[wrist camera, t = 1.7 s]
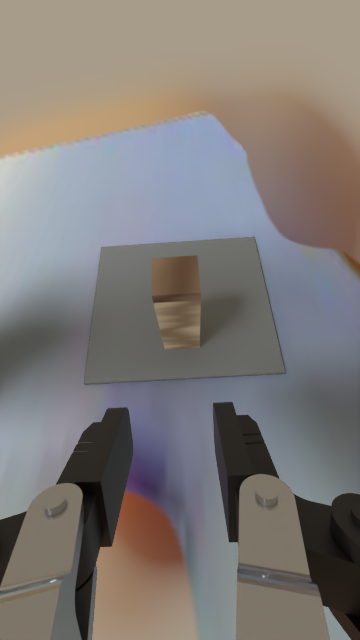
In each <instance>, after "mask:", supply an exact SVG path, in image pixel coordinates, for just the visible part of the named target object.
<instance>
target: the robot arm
mask: <svg viewBox="0 0 360 640" xmlns="http://www.w3.org/2000/svg"><path fill="white" fill-rule="evenodd" d="M213 421H214V443H215V453H216V460H217V467H218V473H219V480H220V486H221V493H222V499H223V506H224V512H225V519H226V525H227V532H228V538H229V542H238V570H237V613H236V640H330V637H329V633H328V628H327V623H326V619H325V614H324V609H323V606H326V607H329V609H330V611H331V612H332V614H333V615H334V617H335V618H336V619H337V621H338V622H339V624H340V625H341V626H342V628H343V629H344V630H345V632H346V633H347V634H348V636H349V637H350V638H351V640H360V495H359V494H353V493H347V494H342V495H339V496H338V497H336V498H335V499H334V500H333V502H332V506H328V505H324V504H320V503H316V502H311V501H308V500H305V499H302V498H300V497H298V496H296V495H295V494H293V492H292V490H291V489H290V487H289V486H288V485H287V484H286V483H284V482H283V481H282V480H280V479H279V476H278V474H277V472H276V469H275V467H274V464H273V462H272V459H271V457H270V454H269V452H268V449H267V447H266V444H265V443H264V440H263V437H262V435H261V432H260V430H259V427H258V425H257V423H256V422H255V421H254V420H253V419H252V418H251V417H250V416H248V415H236V412H235V409H234V406H233V403H232V402H224V403H213ZM132 455H133V441H132V433H131V425H130V417H129V411H128V408H127V407H125V408H108V409H107V410H106V413H105V415H104V417H103V419H102V421H101V422H96V423H93V424H91V425H90V426H89V427H88V428H87V429H86V430H85V431H84V432H83V433H82V435H81V437H80V439H79V441H78V444H77V445H76V447H75V449H74V452H73V453H72V455H71V457H70V459H69V460H68V462H67V464H66V466H65V468H64V470H63V472H62V474H61V476H60V478H59V480H58V482H57V484H56V485H54V486H52V487H50V488H48V489H46V490H44V491H43V492H42V493H40V494H39V495H38V496H37V497H36V498H35V499H34V500H33V501H32V503H31V504H30V506H29V508H28V510H27V511H26V512H23V513H21V514H18V515H14V516H11V517H8V518H5V519H2V520H0V640H92V633H93V620H94V607H95V594H96V580H97V567H96V561H97V557H98V553H99V550H100V547H111V546H112V543H113V539H114V535H115V530H116V526H117V522H118V517H119V513H120V509H121V504H122V500H123V496H124V492H125V487H126V483H127V479H128V474H129V470H130V466H131V461H132Z"/></svg>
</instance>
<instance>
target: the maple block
mask: <svg viewBox="0 0 360 640" xmlns="http://www.w3.org/2000/svg"><path fill="white" fill-rule="evenodd" d="M152 299H153V303H154V308H155V312H156V316H157V320H158V324H159V328H160V332H161V336H162V340H163V345H164V349H165V350H169V349H187V348H200V312H201V289H200V278H199V267H198V256H197V255H194V256H179V257H163V258H152Z"/></svg>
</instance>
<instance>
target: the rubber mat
mask: <svg viewBox="0 0 360 640" xmlns="http://www.w3.org/2000/svg"><path fill="white" fill-rule="evenodd" d="M194 255H197V256H198V267H199V278H200V289H201V312H200V348H187V349H169V350H165V349H164V345H163V340H162V336H161V332H160V328H159V324H158V320H157V316H156V312H155V308H154V303H153V299H152V258H163V257H179V256H194ZM269 374H285V369H284V365H283V360H282V356H281V351H280V347H279V343H278V338H277V334H276V330H275V325H274V321H273V317H272V312H271V308H270V303H269V299H268V295H267V290H266V286H265V282H264V277H263V273H262V269H261V264H260V260H259V255H258V251H257V247H256V242H255V238H254V237H245V238H230V239H215V240H200V241H185V242H170V243H155V244H140V245H125V246H111V247H101V253H100V261H99V269H98V277H97V284H96V292H95V300H94V308H93V316H92V323H91V331H90V339H89V347H88V354H87V362H86V370H85V378H84V384H85V385H86V384H105V383H123V382H141V381H159V380H178V379H196V378H214V377H233V376H251V375H269Z"/></svg>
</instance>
